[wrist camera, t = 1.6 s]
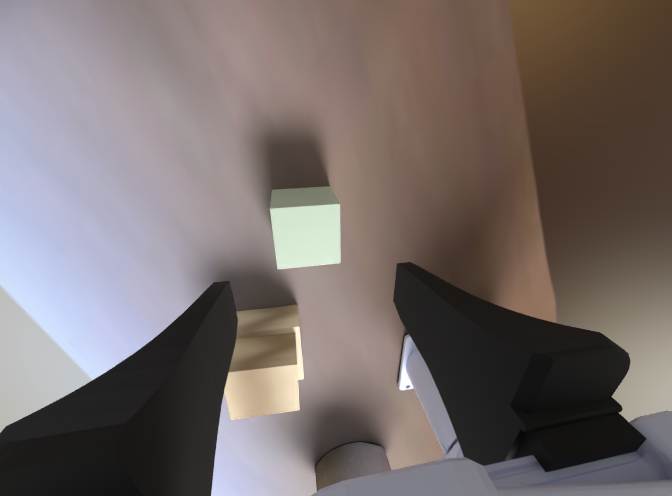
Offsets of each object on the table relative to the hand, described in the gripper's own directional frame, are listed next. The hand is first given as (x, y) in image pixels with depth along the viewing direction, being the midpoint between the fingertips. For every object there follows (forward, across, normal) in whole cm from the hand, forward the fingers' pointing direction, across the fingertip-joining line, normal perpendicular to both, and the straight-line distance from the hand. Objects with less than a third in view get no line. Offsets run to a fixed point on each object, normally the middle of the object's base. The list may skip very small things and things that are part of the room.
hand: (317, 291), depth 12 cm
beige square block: (+7, +4, +11) cm, 13 cm away
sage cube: (+10, 0, 0) cm, 10 cm away
